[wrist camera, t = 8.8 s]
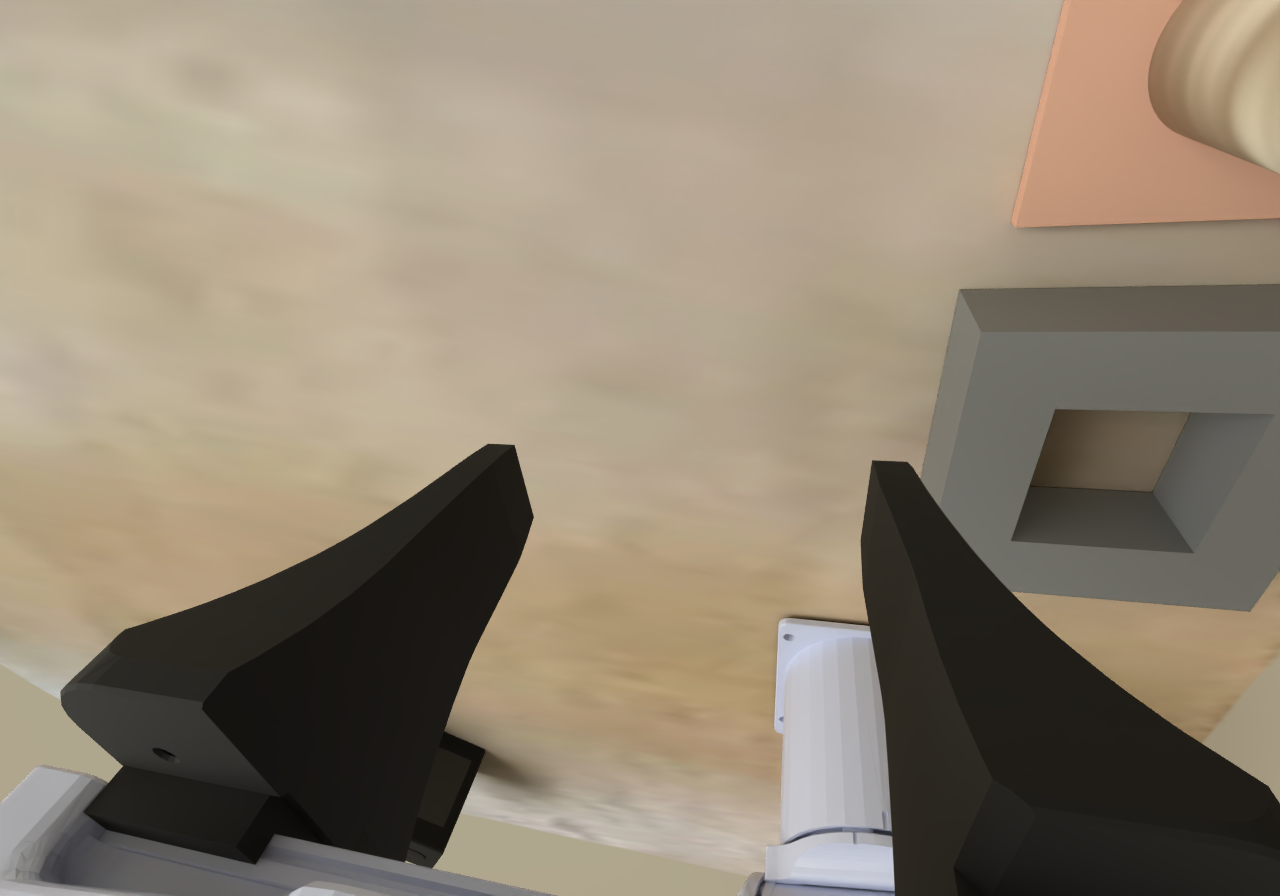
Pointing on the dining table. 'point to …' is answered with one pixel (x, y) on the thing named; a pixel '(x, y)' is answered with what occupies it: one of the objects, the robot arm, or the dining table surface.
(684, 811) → the dining table surface
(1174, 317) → the pocket block
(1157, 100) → the peg
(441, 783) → the digital camera
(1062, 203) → the pad
